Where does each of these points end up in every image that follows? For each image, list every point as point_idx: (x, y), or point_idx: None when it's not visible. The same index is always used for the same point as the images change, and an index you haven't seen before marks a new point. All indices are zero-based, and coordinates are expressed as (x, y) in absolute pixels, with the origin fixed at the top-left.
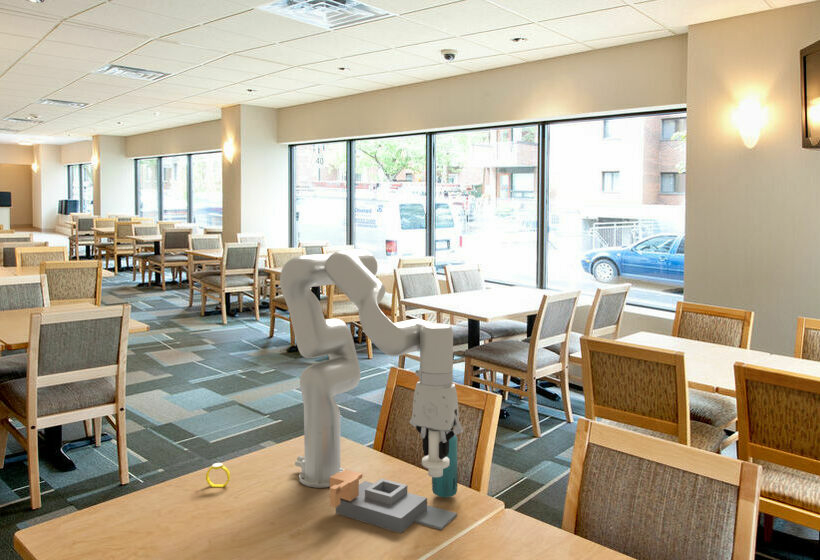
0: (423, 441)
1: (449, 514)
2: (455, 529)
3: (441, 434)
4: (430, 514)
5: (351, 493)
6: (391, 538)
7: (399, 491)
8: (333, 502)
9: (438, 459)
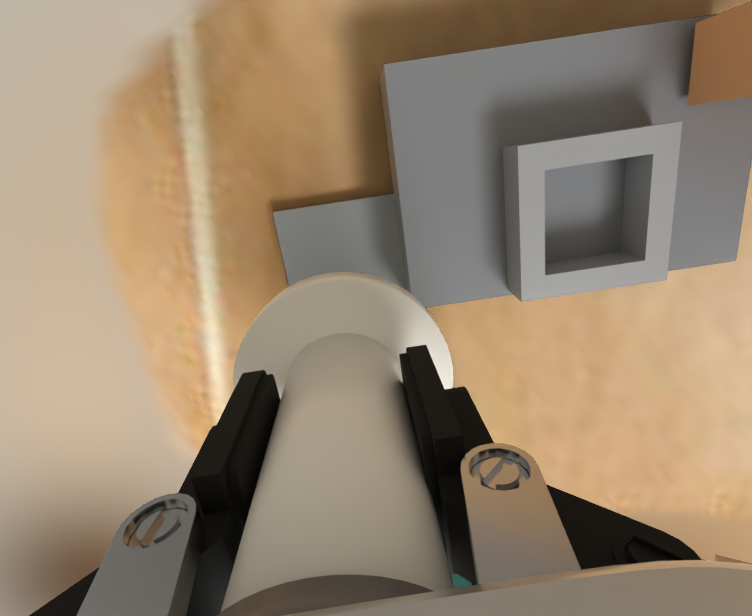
0: (480, 437)
1: None
2: (239, 251)
3: (159, 593)
4: (371, 270)
5: (725, 23)
6: (384, 12)
7: (518, 227)
8: None
9: (291, 372)
